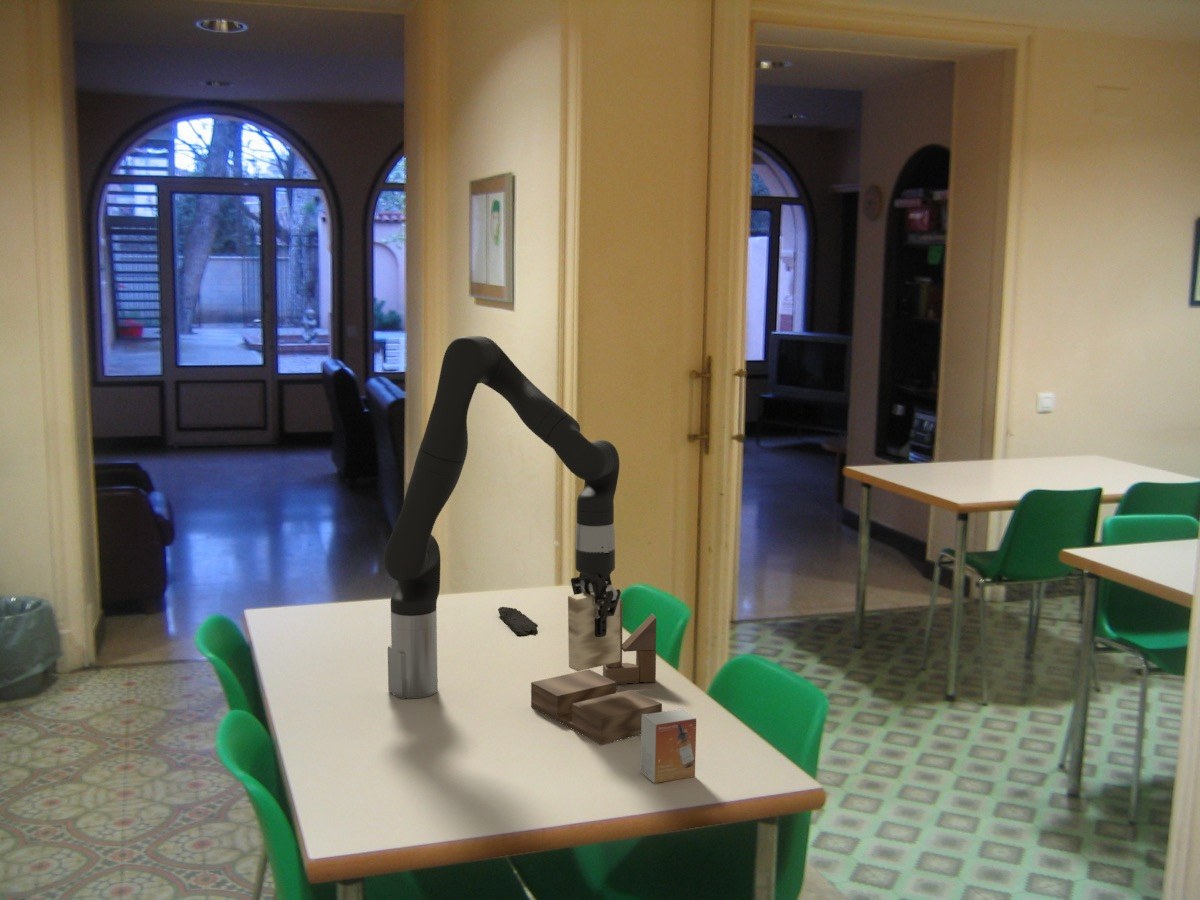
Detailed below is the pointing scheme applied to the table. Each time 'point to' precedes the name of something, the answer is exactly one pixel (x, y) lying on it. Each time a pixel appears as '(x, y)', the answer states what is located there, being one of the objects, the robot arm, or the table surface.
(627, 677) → the wooden toy block structure
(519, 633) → the wood
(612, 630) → the maple slat
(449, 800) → the table surface
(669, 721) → the small box
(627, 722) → the slotted plate
